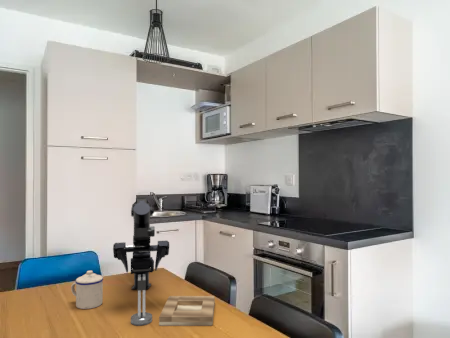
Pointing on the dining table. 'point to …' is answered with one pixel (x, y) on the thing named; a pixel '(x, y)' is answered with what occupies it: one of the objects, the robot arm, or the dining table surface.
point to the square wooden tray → (188, 311)
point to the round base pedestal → (140, 317)
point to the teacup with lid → (88, 290)
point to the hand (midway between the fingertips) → (141, 271)
